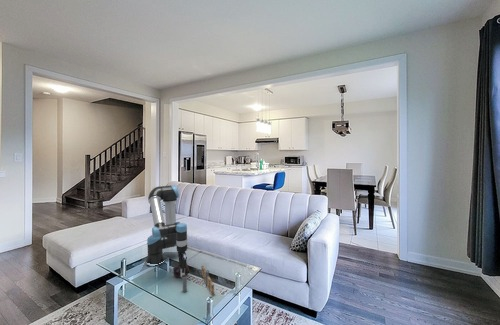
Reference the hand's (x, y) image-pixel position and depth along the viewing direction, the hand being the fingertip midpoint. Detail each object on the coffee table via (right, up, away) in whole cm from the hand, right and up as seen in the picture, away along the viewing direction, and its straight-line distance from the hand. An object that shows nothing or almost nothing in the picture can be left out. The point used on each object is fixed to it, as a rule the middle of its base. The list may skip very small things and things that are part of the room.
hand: (182, 276), depth 166 cm
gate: (+16, -2, 0) cm, 16 cm away
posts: (+12, -3, -10) cm, 16 cm away
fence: (+23, -3, -13) cm, 27 cm away
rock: (-3, -3, +6) cm, 7 cm away
